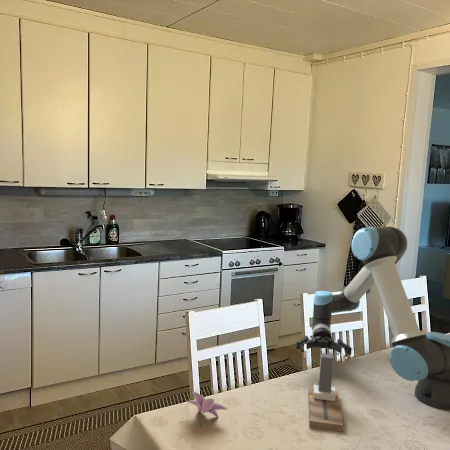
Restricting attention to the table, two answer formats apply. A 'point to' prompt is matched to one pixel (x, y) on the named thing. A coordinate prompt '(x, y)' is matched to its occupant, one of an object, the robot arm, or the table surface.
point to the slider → (325, 379)
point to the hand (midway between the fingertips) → (324, 356)
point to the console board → (325, 413)
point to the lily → (206, 405)
